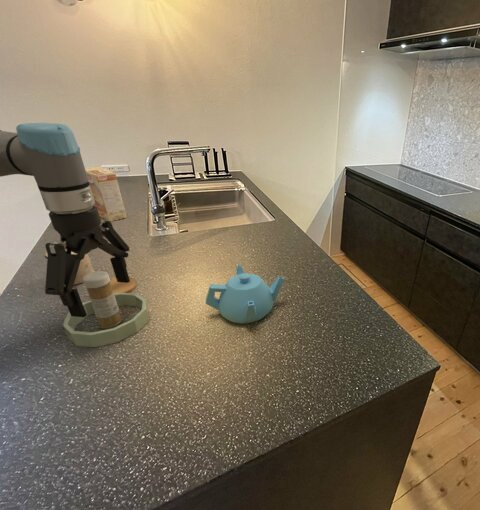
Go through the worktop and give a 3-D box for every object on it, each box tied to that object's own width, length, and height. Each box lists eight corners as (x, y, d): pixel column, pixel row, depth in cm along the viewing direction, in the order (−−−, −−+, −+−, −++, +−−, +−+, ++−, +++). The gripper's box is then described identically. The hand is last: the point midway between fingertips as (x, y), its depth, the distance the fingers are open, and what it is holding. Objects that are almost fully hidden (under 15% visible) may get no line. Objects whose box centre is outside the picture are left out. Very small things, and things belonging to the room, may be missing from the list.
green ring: (50, 343, 67) (44, 330, 65) (103, 301, 80) (99, 290, 79) (120, 349, 66) (116, 337, 65) (161, 306, 80) (159, 295, 79)
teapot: (241, 288, 91) (239, 256, 86) (286, 301, 86) (285, 268, 81) (204, 317, 78) (198, 281, 73) (253, 335, 73) (251, 298, 69)
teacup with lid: (56, 274, 90) (42, 238, 84) (95, 267, 95) (84, 233, 89) (53, 295, 81) (37, 256, 76) (96, 286, 86) (83, 249, 81)
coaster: (84, 296, 82) (83, 294, 81) (111, 277, 90) (110, 275, 90) (120, 300, 81) (120, 297, 81) (144, 280, 90) (143, 278, 90)
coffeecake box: (93, 213, 133) (79, 167, 124) (111, 209, 138) (99, 165, 129) (108, 222, 126) (95, 174, 117) (127, 218, 131) (116, 172, 122)
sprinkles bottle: (108, 316, 75) (92, 269, 69) (126, 317, 75) (112, 271, 69) (94, 329, 71) (76, 280, 65) (114, 330, 71) (98, 281, 65)
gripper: (31, 234, 49) (74, 335, 59) (132, 193, 71) (152, 271, 81) (-15, 230, 49) (36, 332, 59) (101, 190, 72) (124, 269, 81)
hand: (103, 297), depth 70 cm, fingers open, 13 cm apart
